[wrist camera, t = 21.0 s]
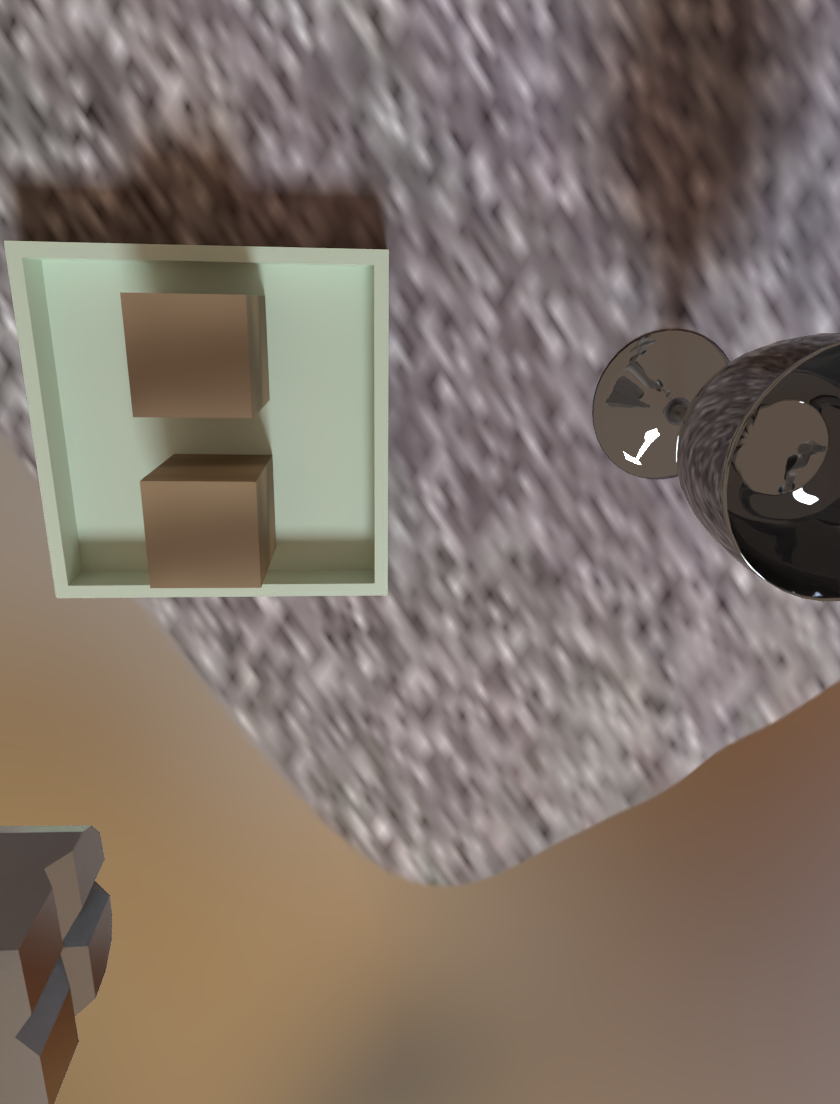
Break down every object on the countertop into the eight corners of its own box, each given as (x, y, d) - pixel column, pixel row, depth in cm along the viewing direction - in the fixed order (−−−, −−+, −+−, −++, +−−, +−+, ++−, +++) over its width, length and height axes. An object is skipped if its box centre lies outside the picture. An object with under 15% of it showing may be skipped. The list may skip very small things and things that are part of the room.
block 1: (159, 293, 32) (120, 292, 27) (265, 295, 33) (245, 294, 28) (168, 399, 34) (133, 417, 29) (269, 400, 34) (252, 418, 29)
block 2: (173, 453, 35) (139, 481, 29) (272, 454, 35) (255, 481, 30) (181, 546, 36) (150, 588, 31) (276, 546, 36) (261, 587, 31)
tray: (30, 245, 32) (3, 240, 30) (387, 253, 33) (388, 249, 31) (76, 578, 37) (56, 598, 34) (386, 576, 38) (387, 595, 36)
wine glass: (550, 407, 36) (670, 477, 22) (679, 282, 34) (899, 270, 20) (653, 519, 38) (824, 650, 24) (778, 406, 36) (1040, 475, 22)
